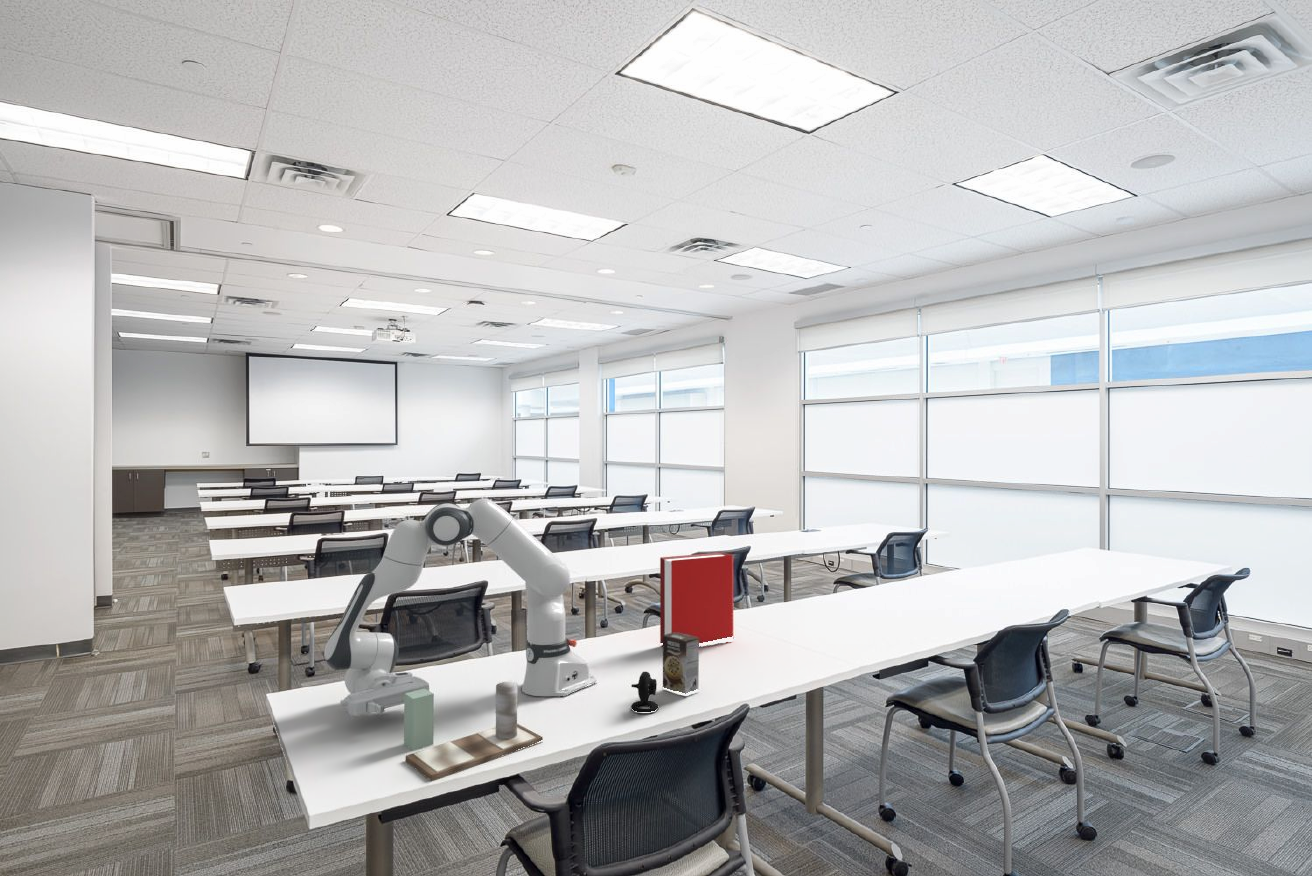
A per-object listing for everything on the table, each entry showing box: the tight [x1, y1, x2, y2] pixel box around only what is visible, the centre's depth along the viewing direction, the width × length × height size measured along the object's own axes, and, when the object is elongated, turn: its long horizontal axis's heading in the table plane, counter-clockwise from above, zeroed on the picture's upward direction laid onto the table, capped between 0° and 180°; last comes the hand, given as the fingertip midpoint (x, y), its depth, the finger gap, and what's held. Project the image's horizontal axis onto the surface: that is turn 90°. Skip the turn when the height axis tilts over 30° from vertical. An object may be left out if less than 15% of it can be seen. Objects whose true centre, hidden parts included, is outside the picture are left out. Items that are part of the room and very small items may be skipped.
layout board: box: [405, 681, 544, 782], centre depth 157 cm, size 28×13×13 cm, turn 134°
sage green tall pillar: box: [403, 688, 435, 752], centre depth 161 cm, size 5×5×12 cm
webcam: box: [630, 671, 659, 712], centre depth 183 cm, size 8×8×10 cm
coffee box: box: [662, 632, 700, 694], centre depth 197 cm, size 9×6×16 cm
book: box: [659, 552, 734, 644], centre depth 246 cm, size 27×8×32 cm, turn 119°
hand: (400, 705), depth 169 cm, fingers open, 8 cm apart
